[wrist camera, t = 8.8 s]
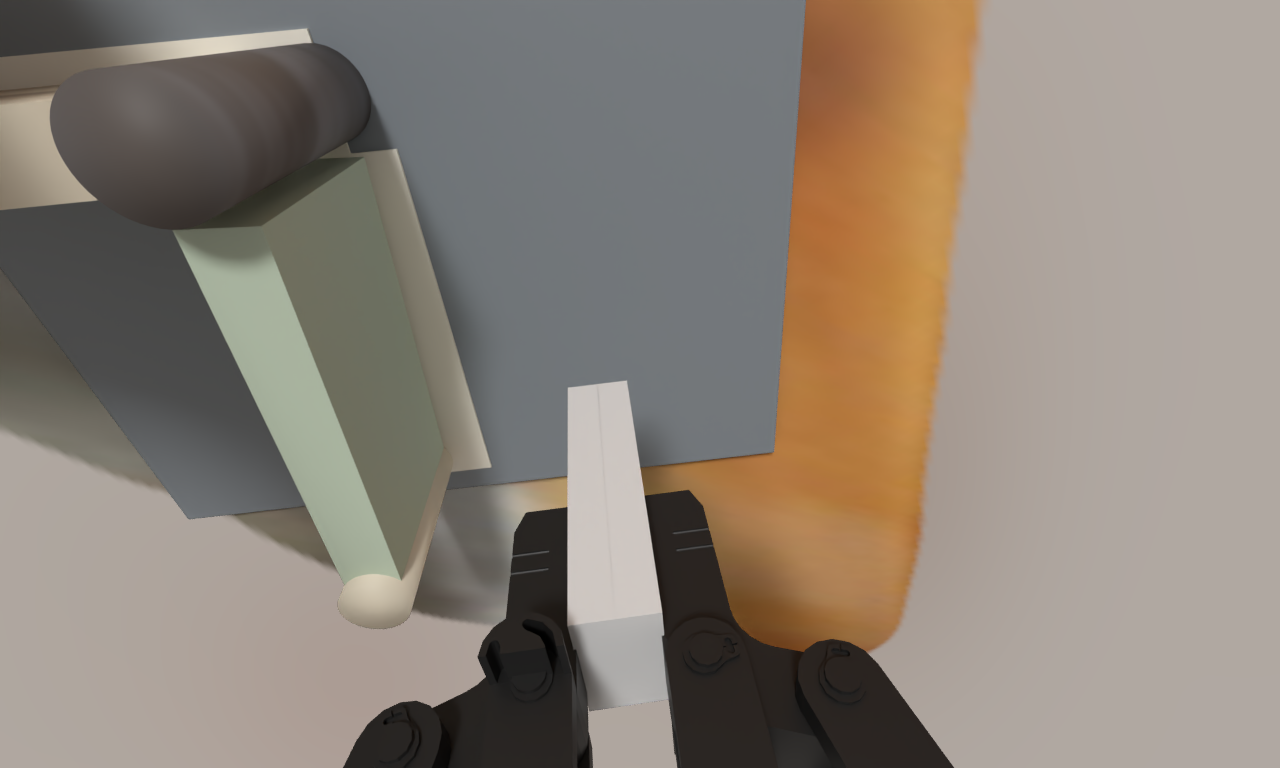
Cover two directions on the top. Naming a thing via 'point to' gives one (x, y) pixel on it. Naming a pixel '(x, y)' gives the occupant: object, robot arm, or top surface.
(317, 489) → the pale green flat piece
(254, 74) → the fixed fence section
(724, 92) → the card
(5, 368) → the top surface
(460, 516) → the top surface
